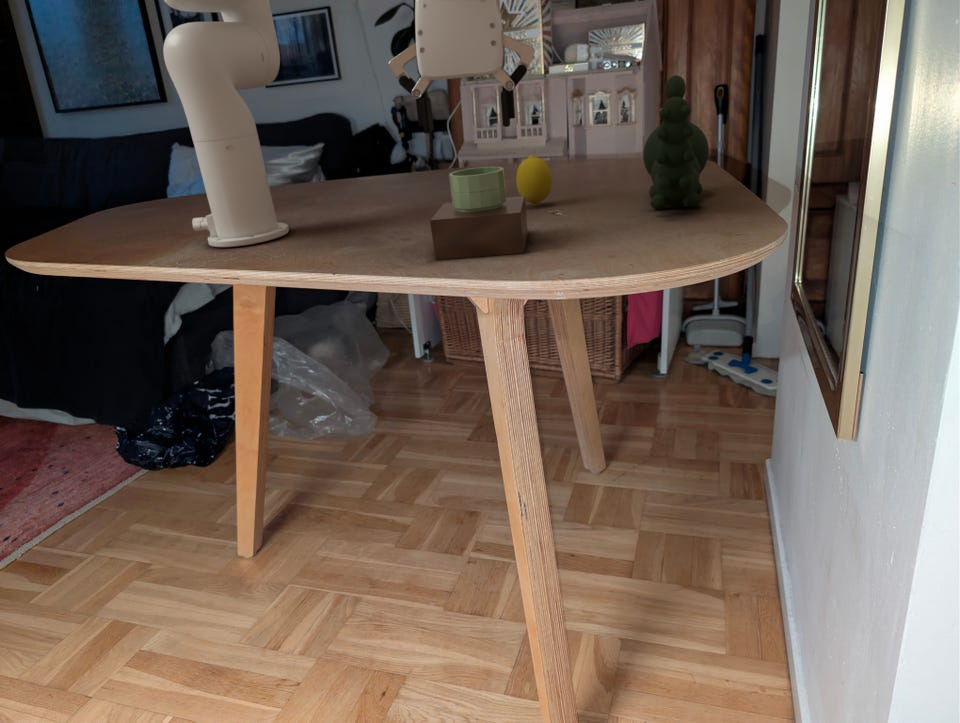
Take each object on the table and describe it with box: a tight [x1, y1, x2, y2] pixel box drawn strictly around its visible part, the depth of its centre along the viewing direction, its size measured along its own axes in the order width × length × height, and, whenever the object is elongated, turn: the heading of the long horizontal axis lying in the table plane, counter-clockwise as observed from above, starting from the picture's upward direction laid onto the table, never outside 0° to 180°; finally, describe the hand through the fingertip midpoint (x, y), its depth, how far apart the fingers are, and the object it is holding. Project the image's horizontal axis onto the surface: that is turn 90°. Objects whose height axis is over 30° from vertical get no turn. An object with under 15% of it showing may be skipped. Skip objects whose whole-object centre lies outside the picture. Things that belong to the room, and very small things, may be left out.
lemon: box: [515, 154, 552, 207], centre depth 111 cm, size 6×6×8 cm
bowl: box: [448, 166, 507, 212], centre depth 88 cm, size 7×7×4 cm
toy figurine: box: [642, 74, 710, 210], centre depth 100 cm, size 9×19×25 cm
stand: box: [429, 196, 528, 261], centre depth 90 cm, size 11×11×5 cm
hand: (467, 128), depth 86 cm, fingers open, 9 cm apart
